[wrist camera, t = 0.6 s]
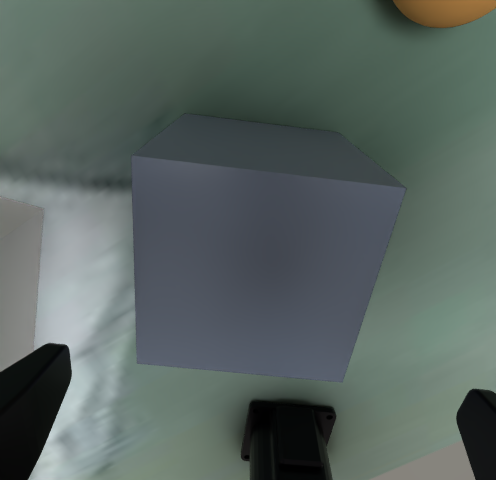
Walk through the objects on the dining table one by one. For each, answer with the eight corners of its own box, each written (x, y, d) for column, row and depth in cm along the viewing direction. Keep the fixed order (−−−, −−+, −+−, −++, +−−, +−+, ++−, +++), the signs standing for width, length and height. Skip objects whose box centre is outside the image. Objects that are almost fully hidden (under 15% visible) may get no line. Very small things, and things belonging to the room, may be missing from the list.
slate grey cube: (308, 264, 21) (342, 382, 14) (179, 250, 21) (136, 363, 13) (338, 132, 18) (406, 188, 10) (184, 113, 18) (131, 155, 10)
